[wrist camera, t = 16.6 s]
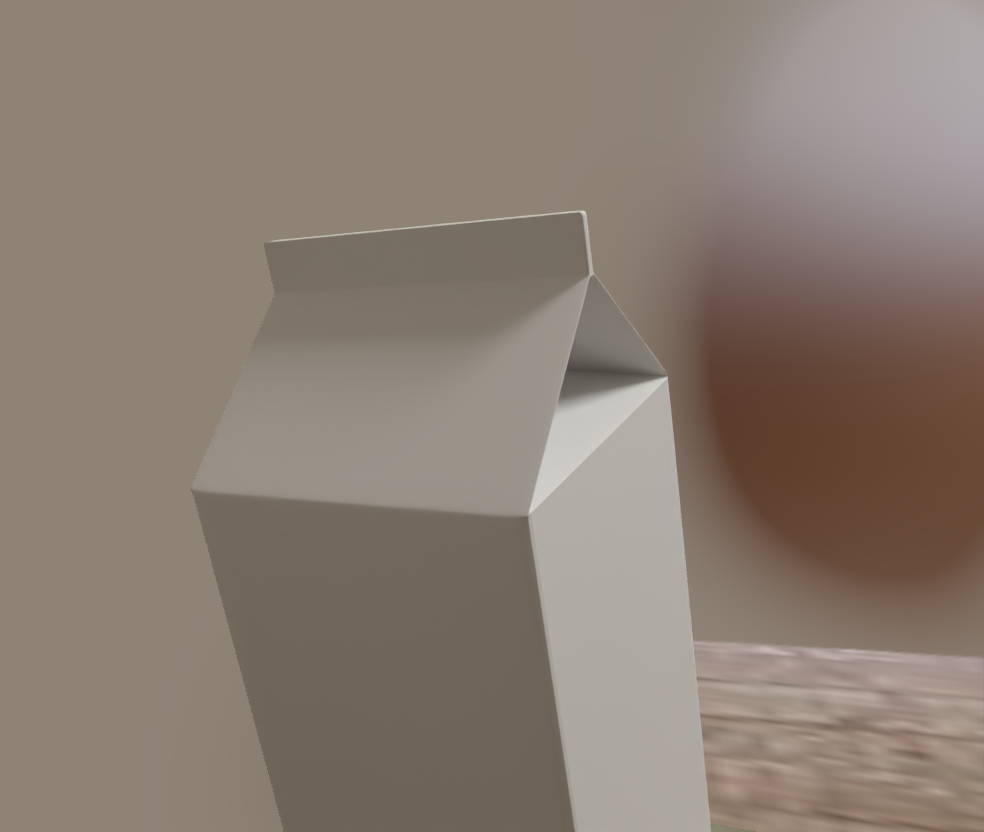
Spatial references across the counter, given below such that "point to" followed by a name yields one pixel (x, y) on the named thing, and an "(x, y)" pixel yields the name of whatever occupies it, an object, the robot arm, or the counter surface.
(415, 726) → the milk carton
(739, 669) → the counter surface
